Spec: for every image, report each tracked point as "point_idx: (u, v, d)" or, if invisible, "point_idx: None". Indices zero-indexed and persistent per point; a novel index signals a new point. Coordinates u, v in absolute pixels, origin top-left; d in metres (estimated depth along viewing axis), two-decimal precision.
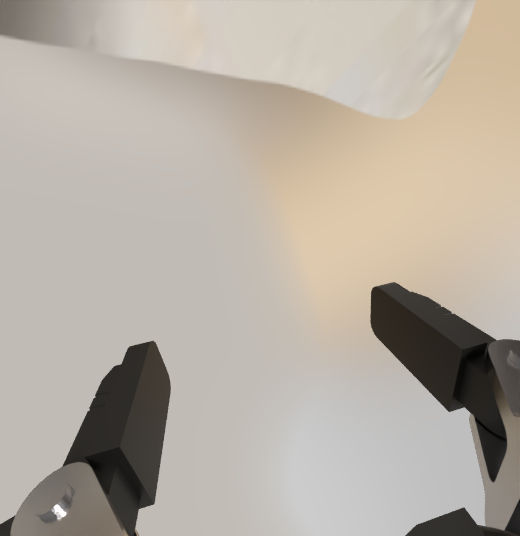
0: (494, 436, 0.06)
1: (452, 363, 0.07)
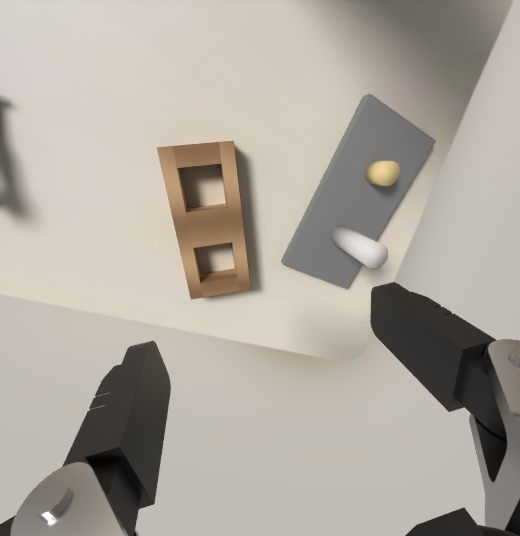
0: (494, 436, 0.06)
1: (452, 363, 0.07)
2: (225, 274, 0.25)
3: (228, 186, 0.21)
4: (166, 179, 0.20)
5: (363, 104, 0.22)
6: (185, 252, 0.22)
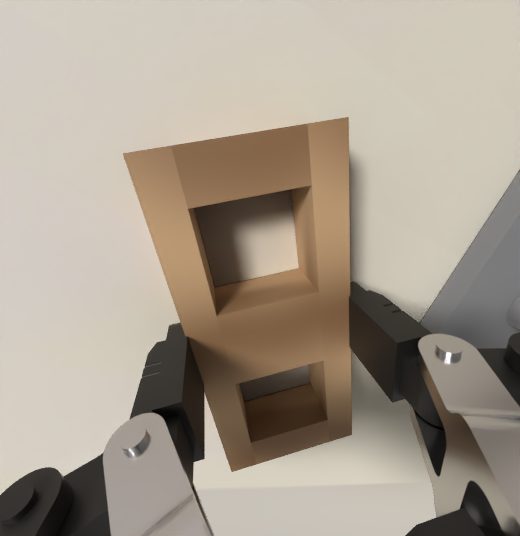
0: (432, 427, 0.06)
1: (391, 356, 0.07)
2: (298, 408, 0.12)
3: (324, 242, 0.08)
4: (160, 242, 0.07)
5: None
6: (218, 396, 0.09)
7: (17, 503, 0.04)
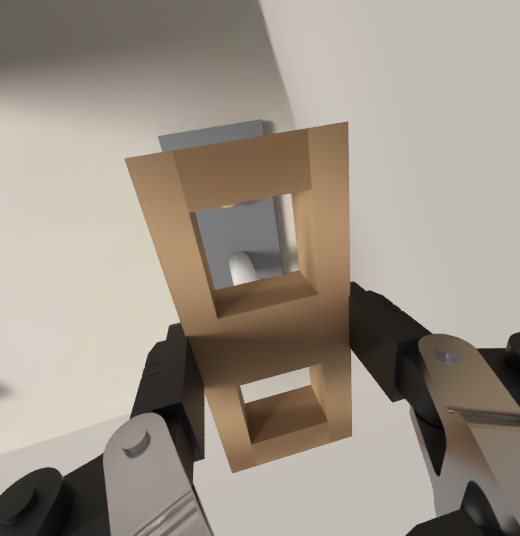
0: (432, 427, 0.06)
1: (391, 356, 0.07)
2: (298, 409, 0.12)
3: (324, 245, 0.08)
4: (161, 246, 0.07)
5: (161, 148, 0.20)
6: (218, 398, 0.10)
7: (17, 503, 0.04)
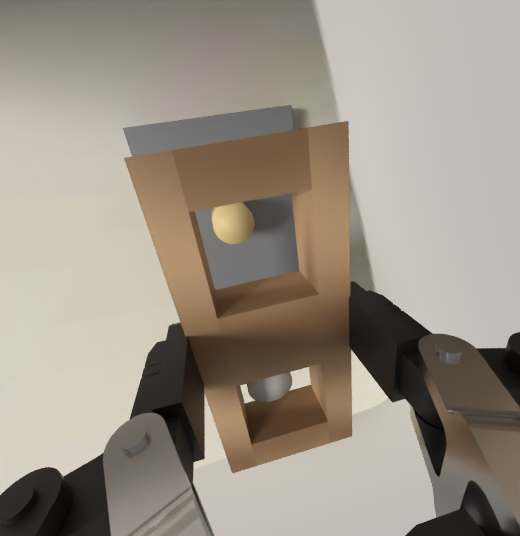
0: (432, 427, 0.06)
1: (391, 356, 0.07)
2: (298, 409, 0.12)
3: (324, 245, 0.08)
4: (161, 246, 0.07)
5: (130, 147, 0.12)
6: (218, 398, 0.10)
7: (17, 503, 0.04)
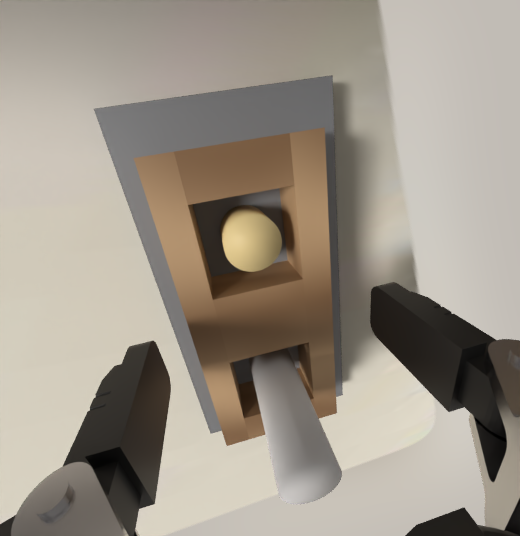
0: (494, 436, 0.06)
1: (452, 363, 0.07)
2: None
3: (306, 235, 0.09)
4: (164, 234, 0.08)
5: (106, 137, 0.09)
6: (214, 373, 0.11)
7: None
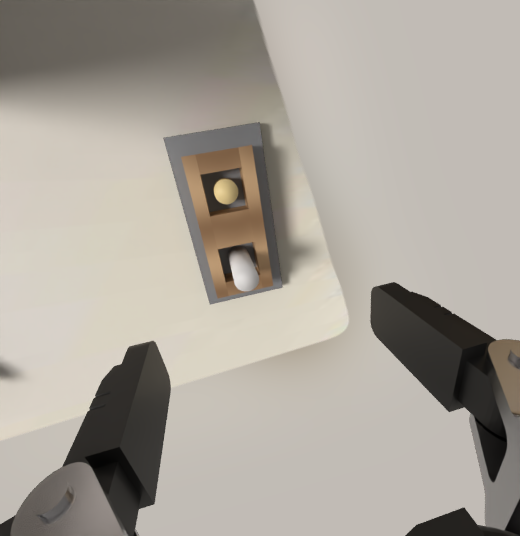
0: (494, 436, 0.06)
1: (452, 363, 0.07)
2: None
3: (248, 188, 0.22)
4: (190, 186, 0.21)
5: (166, 148, 0.22)
6: (210, 254, 0.23)
7: None
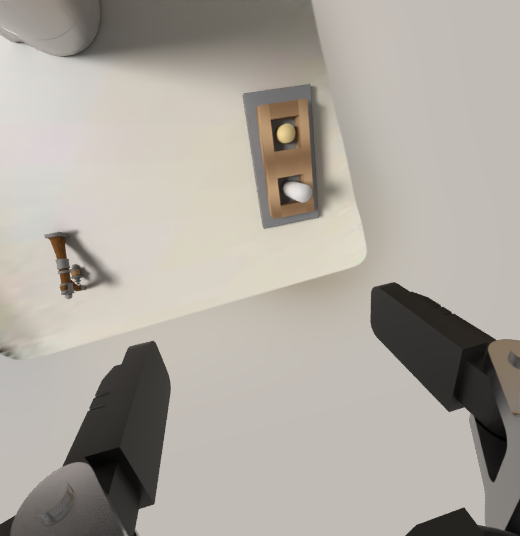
0: (494, 436, 0.06)
1: (452, 363, 0.07)
2: (296, 201, 0.35)
3: (302, 131, 0.31)
4: (263, 127, 0.30)
5: (244, 102, 0.30)
6: (272, 182, 0.32)
7: None
